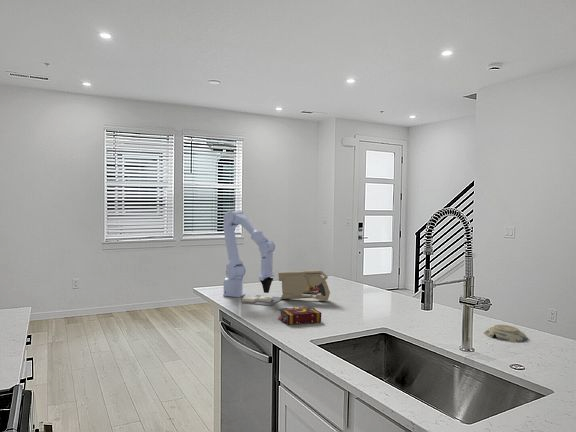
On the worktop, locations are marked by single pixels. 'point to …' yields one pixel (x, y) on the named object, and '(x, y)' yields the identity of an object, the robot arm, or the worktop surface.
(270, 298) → the tile
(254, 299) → the flat tile
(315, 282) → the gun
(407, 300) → the worktop surface
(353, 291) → the worktop surface
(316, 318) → the decorative book
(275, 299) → the mat
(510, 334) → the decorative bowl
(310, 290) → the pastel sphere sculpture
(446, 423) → the worktop surface
